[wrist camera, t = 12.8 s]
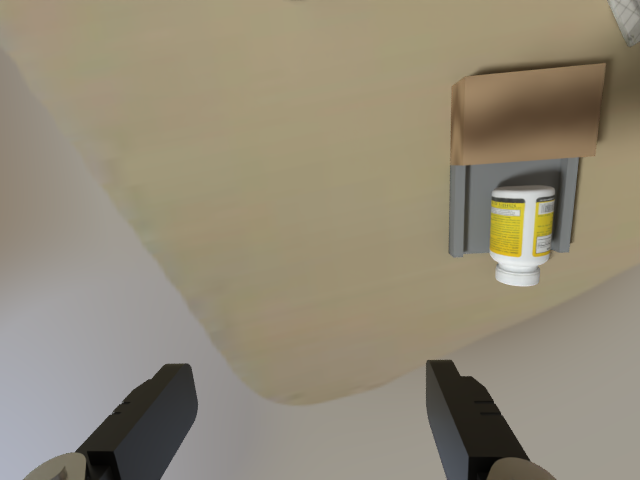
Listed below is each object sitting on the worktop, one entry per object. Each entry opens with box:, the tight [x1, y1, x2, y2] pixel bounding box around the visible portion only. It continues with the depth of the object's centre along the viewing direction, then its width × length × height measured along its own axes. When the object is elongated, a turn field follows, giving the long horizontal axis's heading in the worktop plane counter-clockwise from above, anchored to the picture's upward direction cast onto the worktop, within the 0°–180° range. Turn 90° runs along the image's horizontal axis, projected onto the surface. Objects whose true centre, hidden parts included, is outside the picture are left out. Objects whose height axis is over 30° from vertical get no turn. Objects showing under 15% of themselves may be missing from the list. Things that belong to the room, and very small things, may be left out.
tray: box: [449, 157, 579, 257], centre depth 35 cm, size 10×12×2 cm
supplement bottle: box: [490, 185, 555, 286], centre depth 33 cm, size 5×5×10 cm
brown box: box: [450, 63, 606, 166], centre depth 32 cm, size 8×12×4 cm, turn 94°
